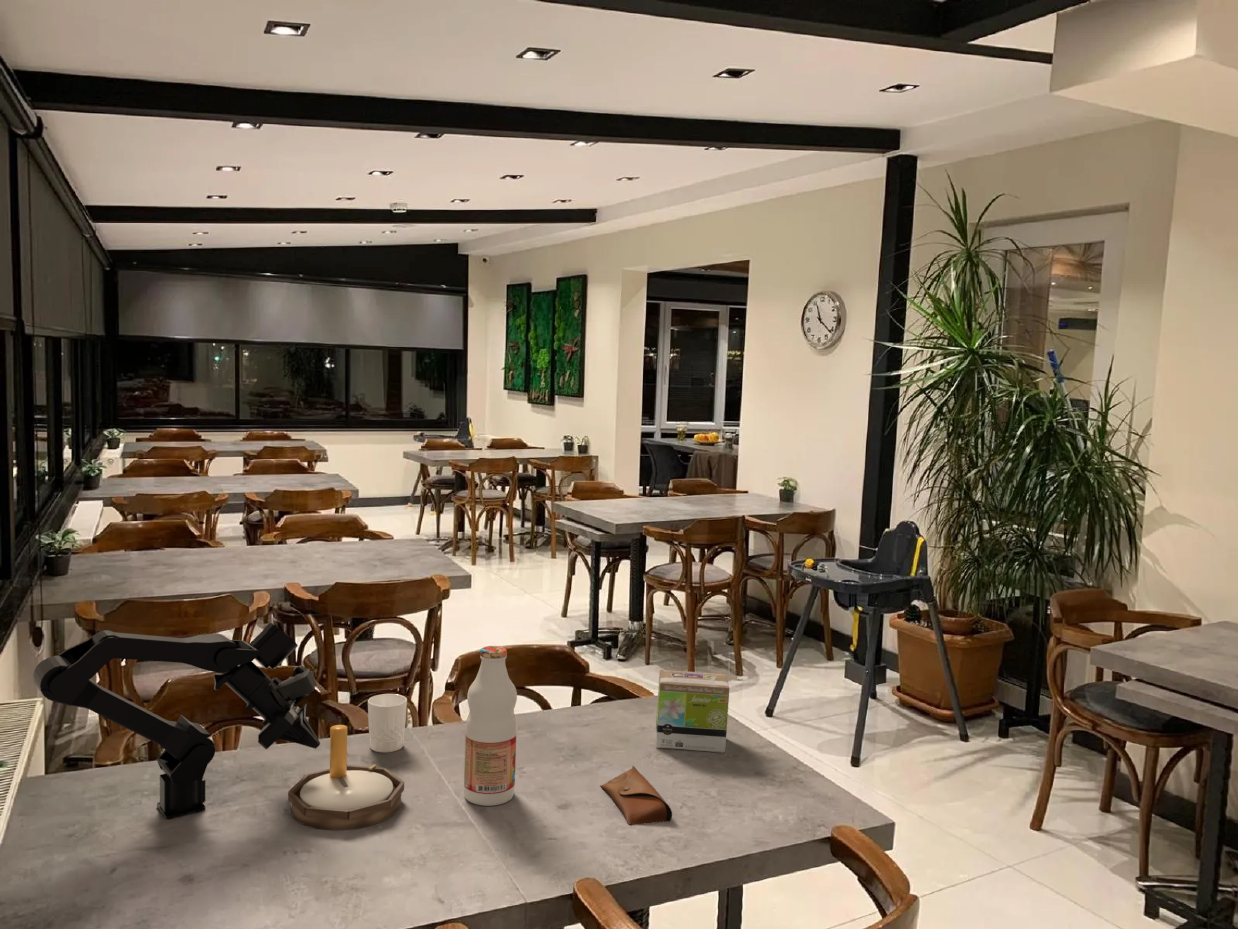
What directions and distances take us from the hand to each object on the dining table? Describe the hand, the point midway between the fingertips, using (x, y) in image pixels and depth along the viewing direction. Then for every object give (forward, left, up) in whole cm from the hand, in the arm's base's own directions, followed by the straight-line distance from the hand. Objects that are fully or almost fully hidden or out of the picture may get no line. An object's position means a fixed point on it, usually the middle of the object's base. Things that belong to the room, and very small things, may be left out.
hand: (318, 746), depth 176 cm
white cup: (+20, +13, -9) cm, 25 cm away
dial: (+2, -8, -6) cm, 11 cm away
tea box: (+75, -21, -9) cm, 79 cm away
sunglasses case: (+46, -37, -9) cm, 59 cm away
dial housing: (+2, -8, -9) cm, 12 cm away
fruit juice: (+25, -19, -9) cm, 33 cm away
